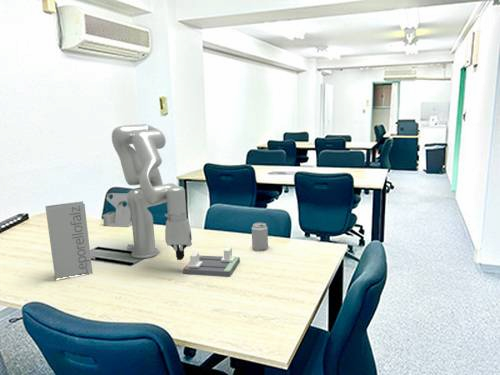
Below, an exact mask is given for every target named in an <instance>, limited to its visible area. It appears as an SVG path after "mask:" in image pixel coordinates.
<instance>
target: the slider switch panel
mask: <svg viewBox="0 0 500 375" xmlns="http://www.w3.org/2000/svg"><path fill="white" fill-rule="evenodd" d="M222 258H223V256H218V255H216V256H215V255H200V254H199V261H202V262H203V264H202V265H201V266H200V267H199V268H191V267H187V265H188V264H189V263H190V261H189V262H188V264H186V265H185V267H183V268H182V274H183V275H197V276H199V275H200V276H215V277H231V276H232V274H233V273H234V271H235V270H236V269H237V267H238V266H239V264H240V263H241V258H240V257H236V256H235V259H234V261H233V262H221V259H222Z"/></svg>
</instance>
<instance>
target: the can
mask: <svg viewBox="0 0 500 375" xmlns="http://www.w3.org/2000/svg"><path fill="white" fill-rule="evenodd" d="M268 237H269V232H268V226H267V223H264V222H255V223H253V224H252V227H251V244H252V245H251V247H252V249H254V250H255V251H259V252H262V251H266V250H267V249H268V247H269V238H268Z"/></svg>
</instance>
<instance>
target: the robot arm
mask: <svg viewBox="0 0 500 375" xmlns="http://www.w3.org/2000/svg"><path fill="white" fill-rule="evenodd" d="M111 142H112V146H113V148H114V150H115V152H116V154H117V156H118V157H119V161H120V164H121V168H122V171H123V172H122V173H123V175H124V179H125V182H126V183H127V185H129V186H139V187H135V188H133V189H131V190H130V191H128V192H127V193H128V195H127V200H128V204H129V208H130V212H131V221H132V226H131V228H132V239H133V244H129V243H128V244H127V245H126V247H127V248H126V250H128V251H130V250H131V252H130V253H131V257H133V258H135V259H148V258H152V257H155V256H157V255H158V254H159V253H160V250H159V248H158V247H156V240H155V228H154V219H153V218H154V217H153V214H152V213H151V212H150V210H149V209H148V208H150V207H155V206H157V205H158V206H159V205H161V204H164V203H166V206H167V208H166V210H167V212H166V213H165V214H164V216H165V218H167V219H166V221H165V230H164V231H165V232H164V236H165V238H164V240H165V243H166V245H167V246H169V247H171V248H173V250H174V251H175V257H176V260H177V261H182V260H183V259H184V257H185V249H186V248H188V247H191V246H192V245H193V242H192V239H193V238H192V228H191V224H190V221H189V218H187V216H188V215H187V202H186V189H185V188H184V187H183V186H179V185H176V184H174V183H171V182H170V183H163V180H162V176H161V172H160V170H159V167H160V166H161V165H162V163H163V160H162V157H161V155H160V153H159V151H158V150H159V149H160V150H161V149H162V148H164V147H165V145H166V143H167V141H166V137H165V135H164V133H163V132H162V131H161V130H160V129H158V128H156V127H154V126H151V125H149V124H146V123H145V124H144V123H141V124H127V125H121V126H120V125H119V126H117V127H115V128H113V130H112V131H111ZM131 145H133V147H134V148H133V147H132V146H131Z"/></svg>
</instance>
